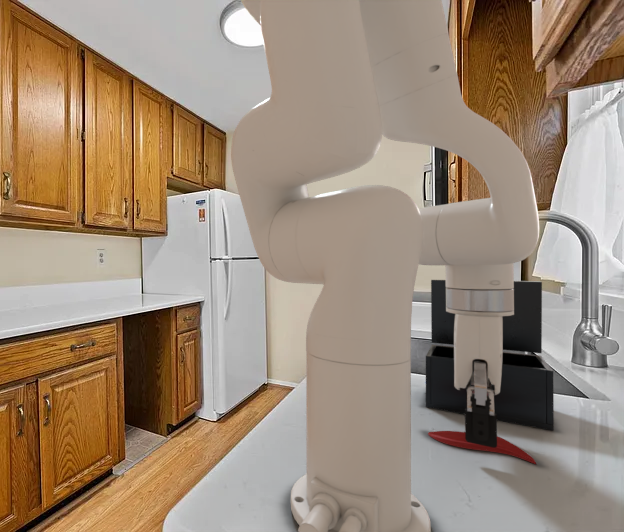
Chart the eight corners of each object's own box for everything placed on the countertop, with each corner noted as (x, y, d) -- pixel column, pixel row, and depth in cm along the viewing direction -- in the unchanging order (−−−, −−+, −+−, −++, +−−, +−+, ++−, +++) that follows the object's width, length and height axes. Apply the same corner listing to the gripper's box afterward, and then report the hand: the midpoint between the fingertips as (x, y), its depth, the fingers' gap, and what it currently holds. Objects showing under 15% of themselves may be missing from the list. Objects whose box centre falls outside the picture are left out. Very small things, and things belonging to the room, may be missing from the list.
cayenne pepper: (539, 458, 47) (539, 442, 47) (532, 471, 44) (532, 455, 44) (435, 427, 56) (435, 414, 56) (423, 436, 52) (423, 423, 52)
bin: (553, 430, 54) (553, 370, 54) (425, 407, 64) (425, 356, 64) (541, 406, 64) (541, 355, 64) (431, 389, 73) (431, 344, 73)
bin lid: (542, 281, 63) (537, 279, 68) (431, 280, 73) (433, 277, 77) (541, 353, 64) (536, 346, 68) (431, 342, 73) (433, 336, 78)
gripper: (449, 295, 59) (450, 402, 59) (441, 307, 45) (443, 449, 45) (508, 297, 55) (509, 412, 55) (521, 311, 40) (523, 467, 41)
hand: (480, 428), depth 50 cm, fingers open, 9 cm apart
